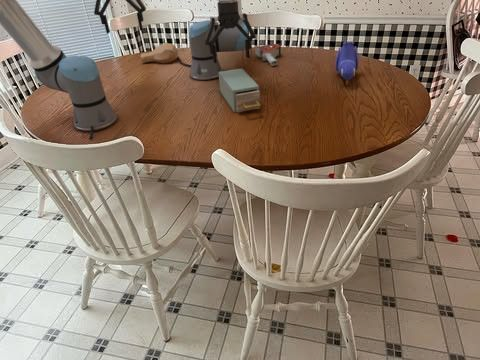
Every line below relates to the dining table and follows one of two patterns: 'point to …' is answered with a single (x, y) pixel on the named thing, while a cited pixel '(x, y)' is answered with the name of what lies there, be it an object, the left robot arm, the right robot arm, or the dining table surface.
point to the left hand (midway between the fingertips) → (125, 31)
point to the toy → (347, 61)
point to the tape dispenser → (269, 53)
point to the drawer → (248, 100)
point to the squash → (161, 54)
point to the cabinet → (235, 85)
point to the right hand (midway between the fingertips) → (231, 59)
